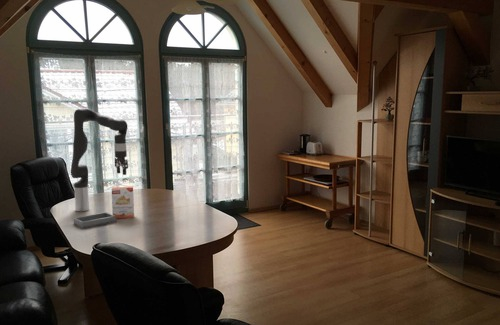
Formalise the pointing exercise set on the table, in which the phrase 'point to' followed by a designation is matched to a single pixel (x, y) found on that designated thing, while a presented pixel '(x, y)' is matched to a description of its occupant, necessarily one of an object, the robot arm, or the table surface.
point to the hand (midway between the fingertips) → (121, 174)
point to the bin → (94, 220)
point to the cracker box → (123, 202)
